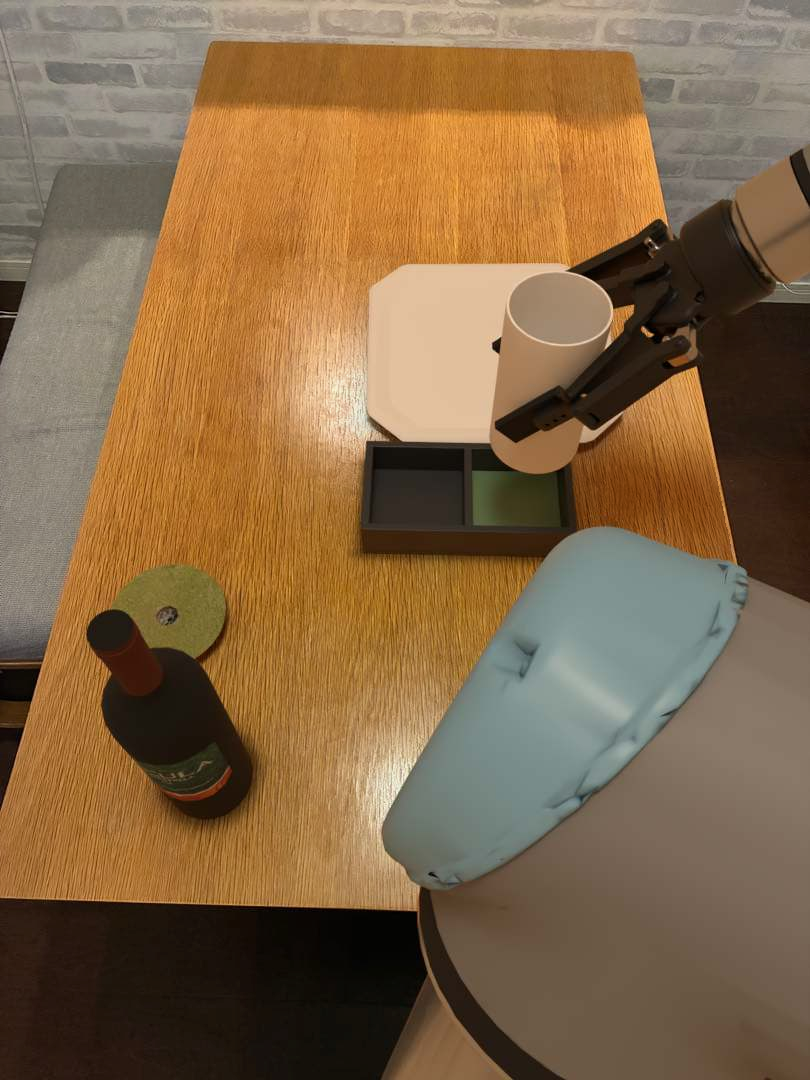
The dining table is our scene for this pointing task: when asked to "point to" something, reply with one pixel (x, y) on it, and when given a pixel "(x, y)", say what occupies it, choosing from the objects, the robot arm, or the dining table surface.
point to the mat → (175, 607)
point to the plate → (441, 349)
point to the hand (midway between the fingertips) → (503, 391)
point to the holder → (460, 502)
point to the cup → (546, 360)
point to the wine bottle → (170, 719)
